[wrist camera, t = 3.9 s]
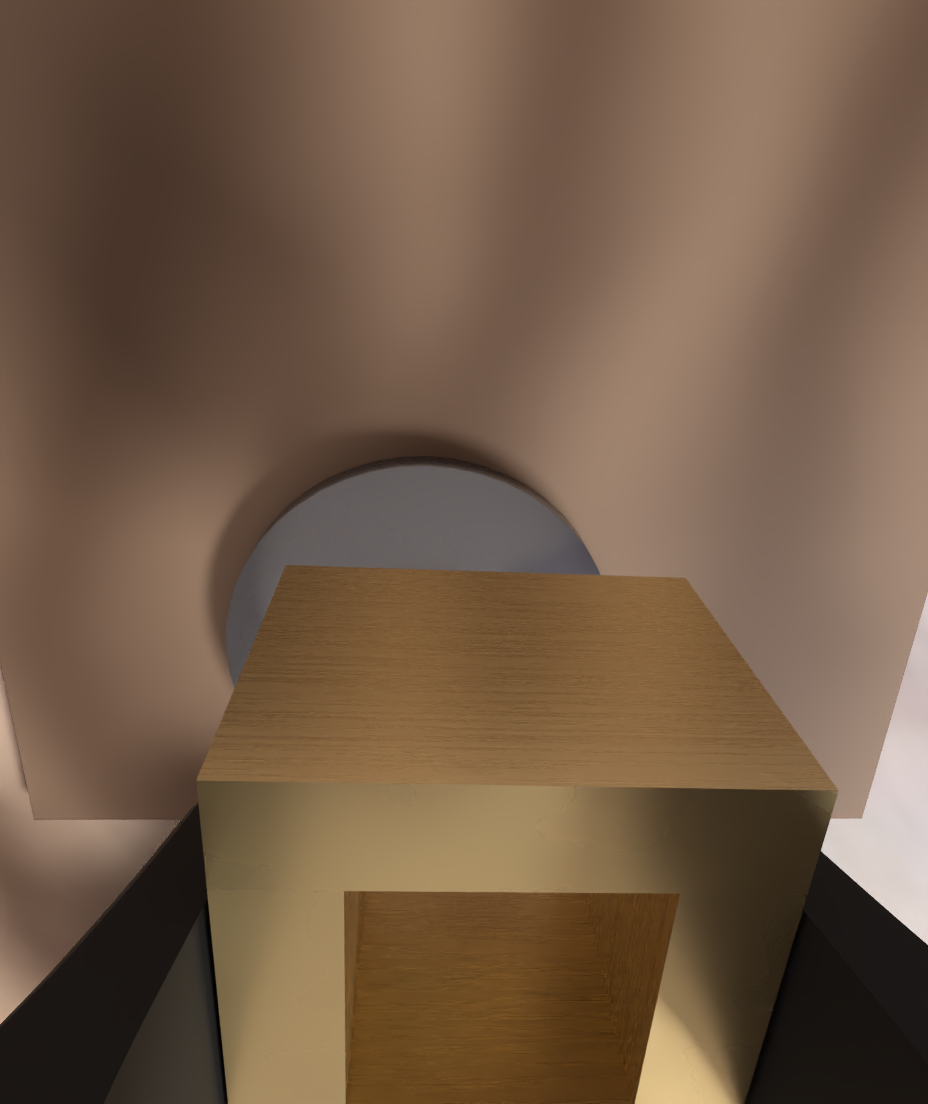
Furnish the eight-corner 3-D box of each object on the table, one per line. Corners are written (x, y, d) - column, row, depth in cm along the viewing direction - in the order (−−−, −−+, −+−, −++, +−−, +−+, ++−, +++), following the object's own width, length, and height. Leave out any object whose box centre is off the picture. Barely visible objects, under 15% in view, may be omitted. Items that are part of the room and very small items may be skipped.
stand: (626, 460, 16) (693, 537, 12) (587, 785, 19) (630, 931, 15) (219, 450, 15) (148, 527, 11) (247, 785, 18) (199, 936, 14)
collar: (685, 577, 10) (838, 789, 6) (631, 876, 12) (723, 1174, 8) (285, 565, 10) (195, 780, 6) (297, 874, 11) (235, 1181, 8)
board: (1091, -57, 13) (1120, -70, 13) (849, 802, 20) (861, 818, 19) (-149, -138, 12) (-177, -156, 11) (45, 802, 19) (34, 819, 18)
